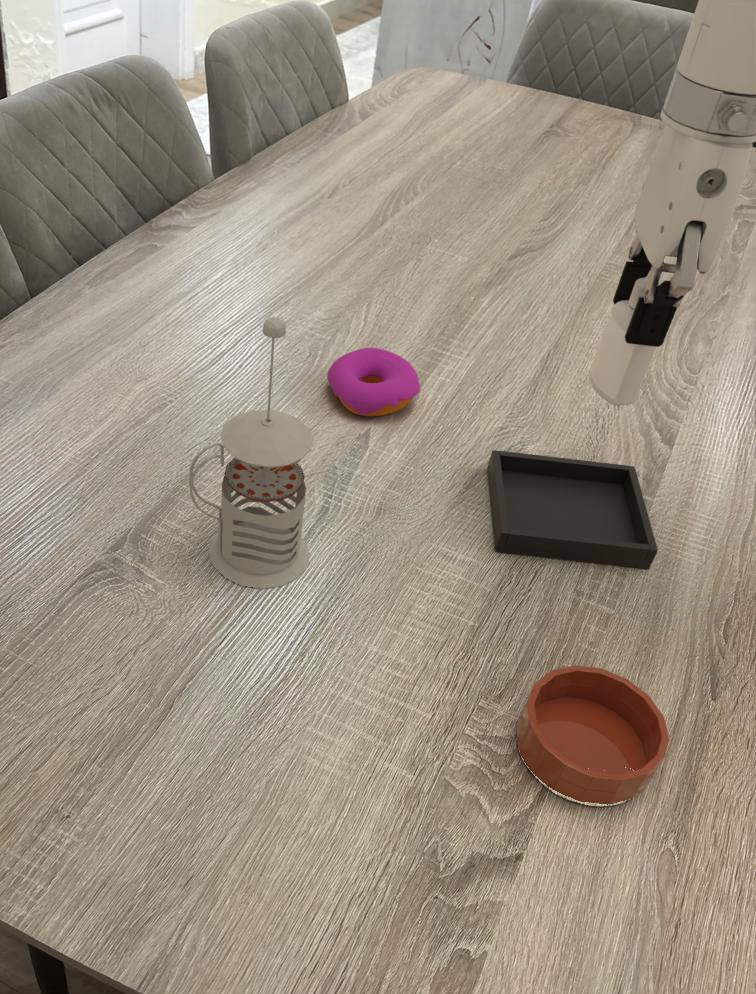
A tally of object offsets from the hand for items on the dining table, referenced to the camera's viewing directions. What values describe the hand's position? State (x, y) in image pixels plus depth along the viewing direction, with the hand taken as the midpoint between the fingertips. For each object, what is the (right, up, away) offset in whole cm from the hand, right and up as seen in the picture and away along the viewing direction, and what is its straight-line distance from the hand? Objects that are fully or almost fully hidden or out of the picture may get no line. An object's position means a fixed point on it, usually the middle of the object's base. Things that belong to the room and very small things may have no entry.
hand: (636, 322), depth 83 cm
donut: (-21, -1, +29) cm, 36 cm away
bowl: (-6, -37, -5) cm, 38 cm away
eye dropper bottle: (-1, -5, +5) cm, 7 cm away
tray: (-2, -16, +16) cm, 23 cm away
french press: (-35, -20, +8) cm, 41 cm away
